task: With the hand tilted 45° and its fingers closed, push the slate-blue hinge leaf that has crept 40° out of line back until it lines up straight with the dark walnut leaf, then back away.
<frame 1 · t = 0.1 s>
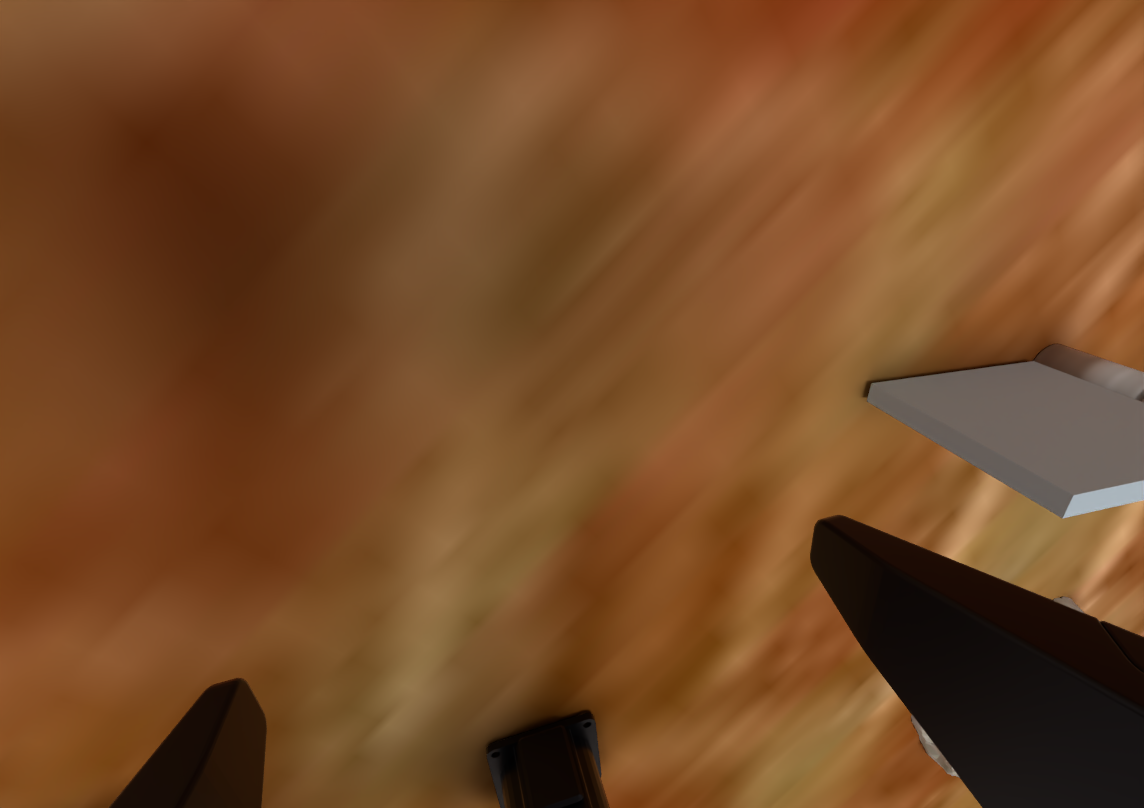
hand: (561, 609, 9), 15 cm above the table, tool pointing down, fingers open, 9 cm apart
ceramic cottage: (990, 679, 47), on the table
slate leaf: (1068, 419, 26), point 5 cm above the table, hinge at 40.0°
walnut leaf: (1047, 364, 31), on the table
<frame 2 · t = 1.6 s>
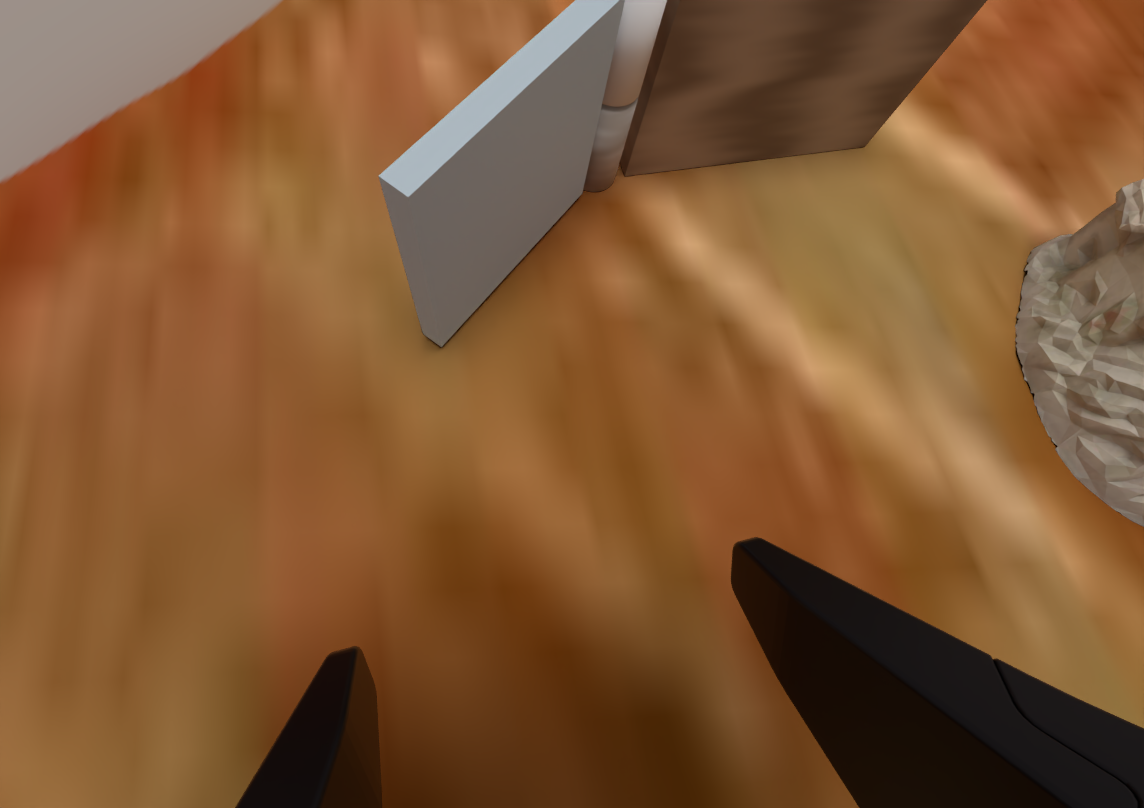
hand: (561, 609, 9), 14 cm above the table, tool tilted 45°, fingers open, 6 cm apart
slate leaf: (533, 164, 21), point 5 cm above the table, hinge at 40.0°
walnut leaf: (591, 171, 28), on the table
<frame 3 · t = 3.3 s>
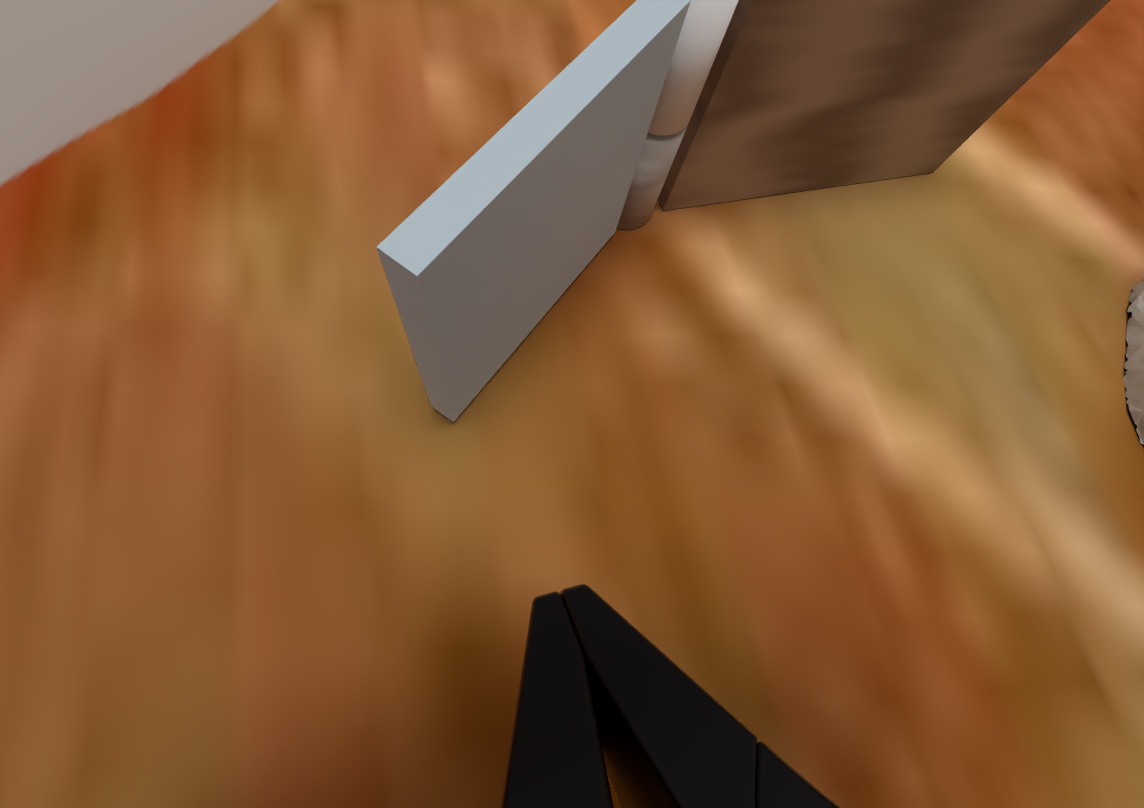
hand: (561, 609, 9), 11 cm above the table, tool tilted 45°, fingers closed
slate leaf: (565, 207, 18), point 5 cm above the table, hinge at 40.0°
walnut leaf: (624, 206, 24), on the table
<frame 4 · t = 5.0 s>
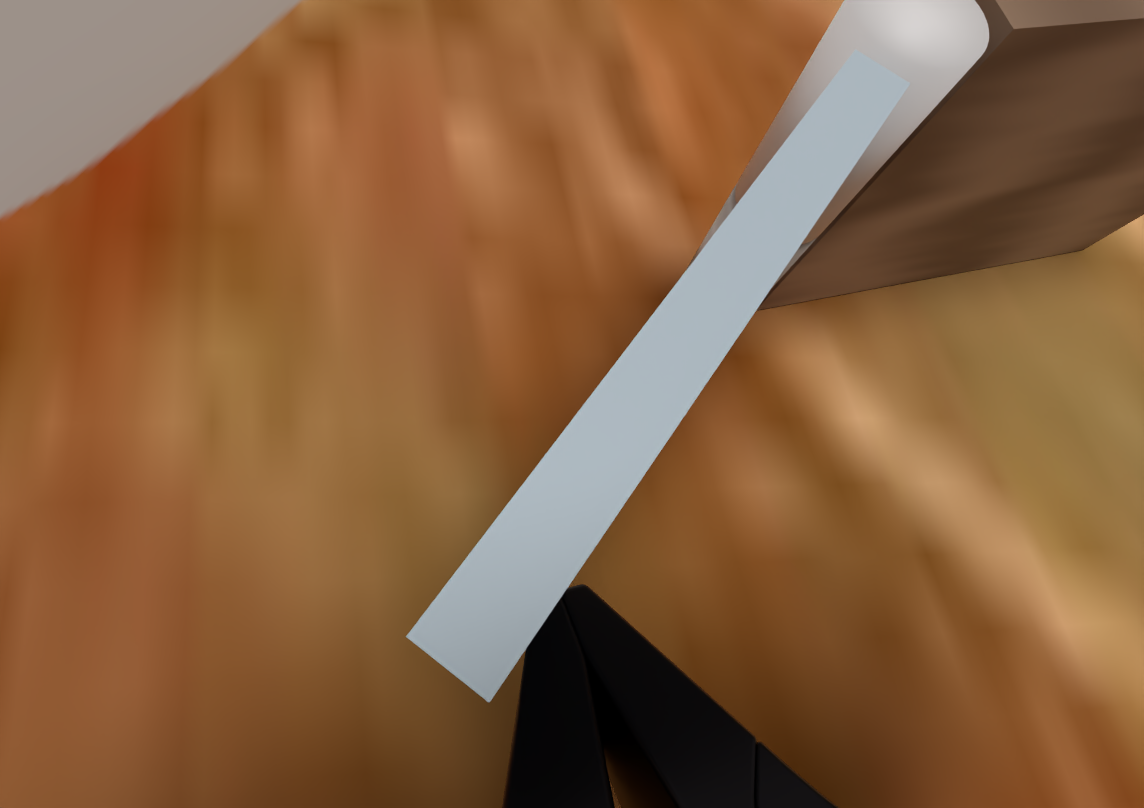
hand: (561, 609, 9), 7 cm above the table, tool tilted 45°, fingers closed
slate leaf: (666, 363, 12), point 5 cm above the table, hinge at 39.8°, touching gripper
walnut leaf: (707, 305, 19), on the table
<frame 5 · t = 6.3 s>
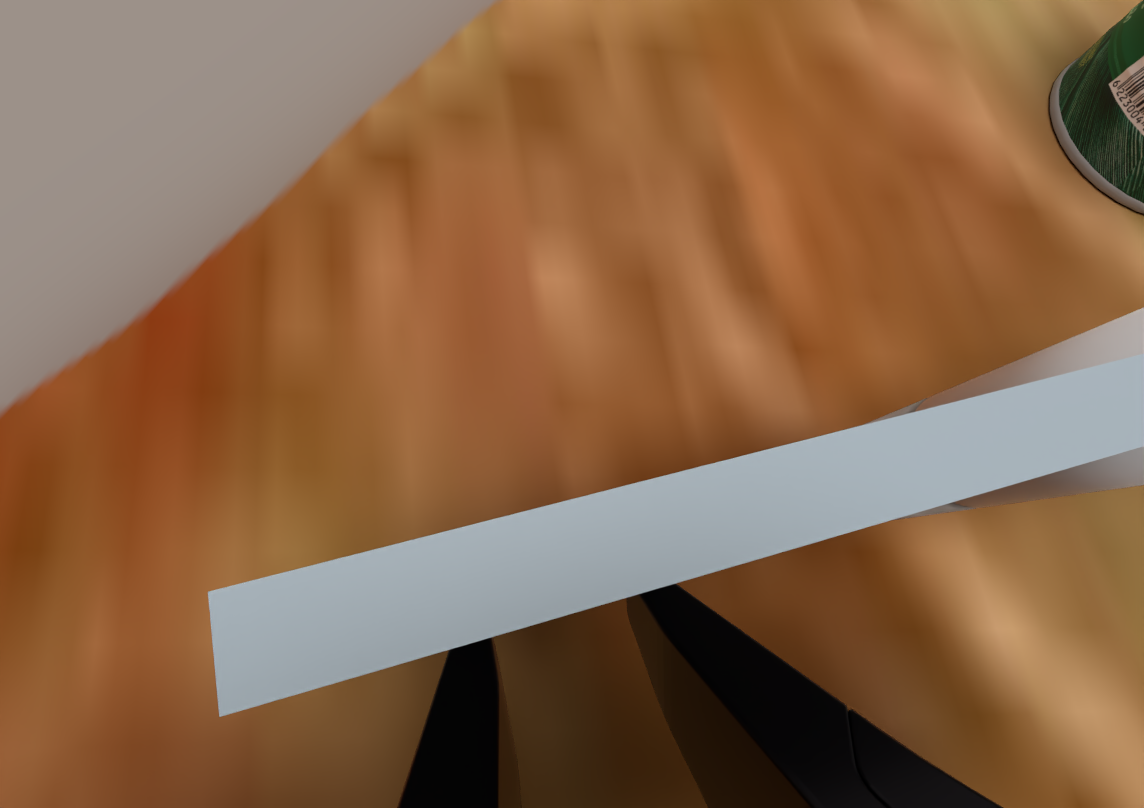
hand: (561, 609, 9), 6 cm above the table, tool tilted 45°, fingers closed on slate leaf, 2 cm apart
canned tomato: (1135, 140, 22), on the table
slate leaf: (721, 514, 11), point 5 cm above the table, hinge at 2.7°, touching gripper
walnut leaf: (825, 486, 16), on the table
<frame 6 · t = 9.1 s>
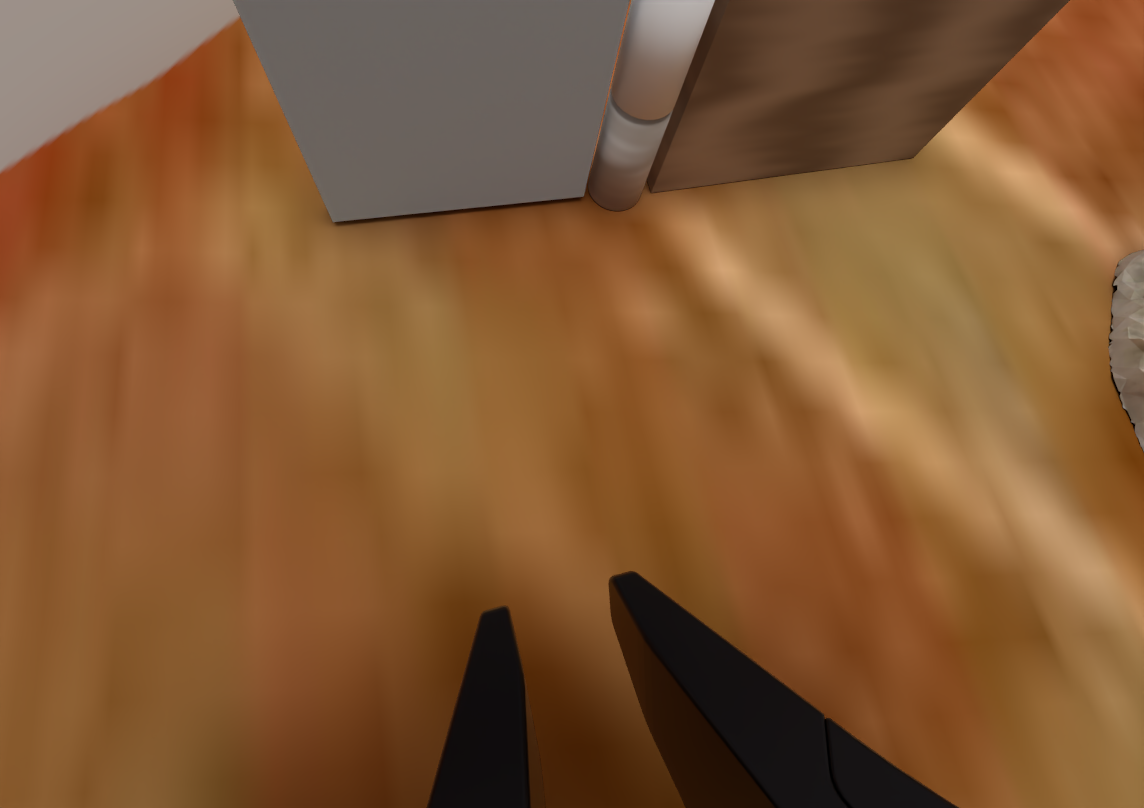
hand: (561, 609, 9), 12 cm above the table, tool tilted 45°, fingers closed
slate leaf: (494, 104, 19), point 5 cm above the table, hinge at -1.9°
walnut leaf: (614, 188, 25), on the table
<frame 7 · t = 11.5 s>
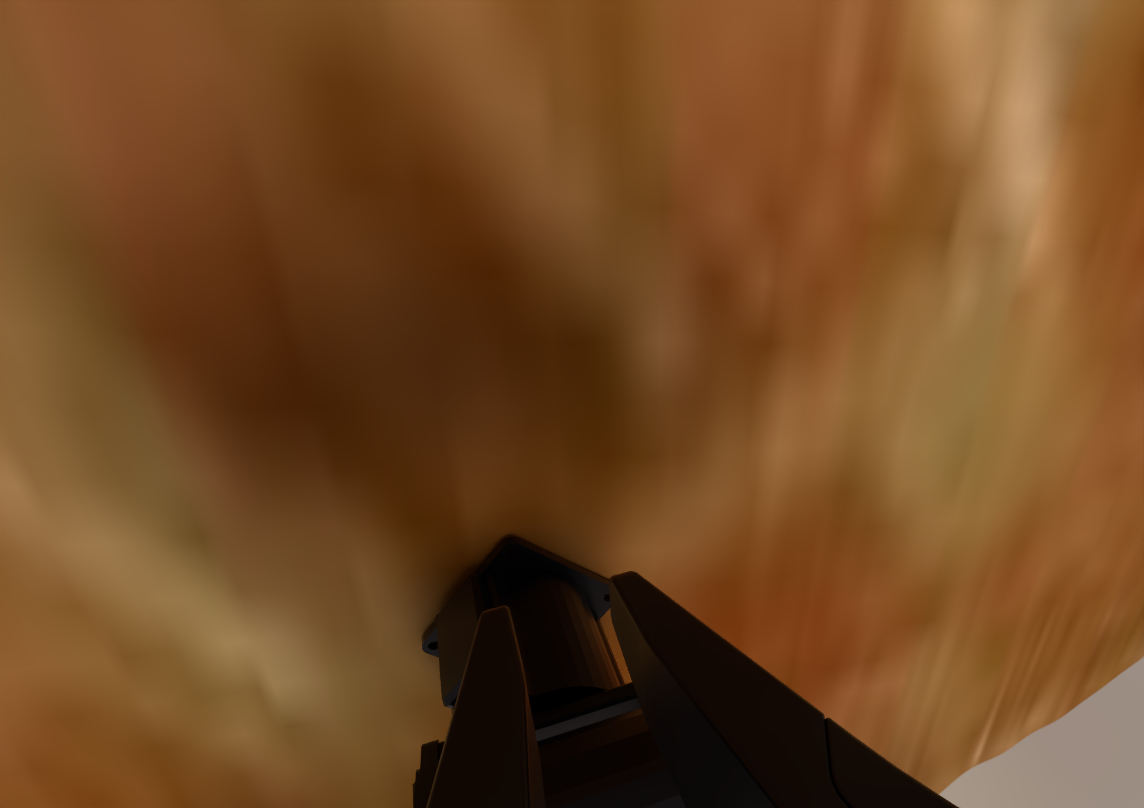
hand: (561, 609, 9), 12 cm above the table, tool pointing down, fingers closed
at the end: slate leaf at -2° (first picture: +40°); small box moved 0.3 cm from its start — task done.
